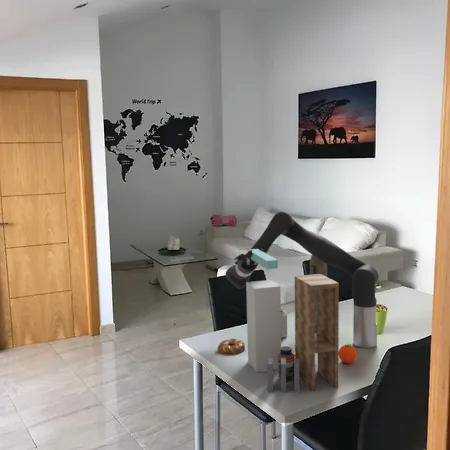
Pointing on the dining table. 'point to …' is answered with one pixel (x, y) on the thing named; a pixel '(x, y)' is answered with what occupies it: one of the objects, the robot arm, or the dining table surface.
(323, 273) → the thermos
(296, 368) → the domino
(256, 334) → the block
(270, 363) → the domino
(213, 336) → the dining table surface
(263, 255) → the block
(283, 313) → the can
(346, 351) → the clementine
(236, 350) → the braided bread ring
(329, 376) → the stand
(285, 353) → the supplement bottle
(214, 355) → the dining table surface
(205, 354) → the dining table surface
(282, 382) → the domino
